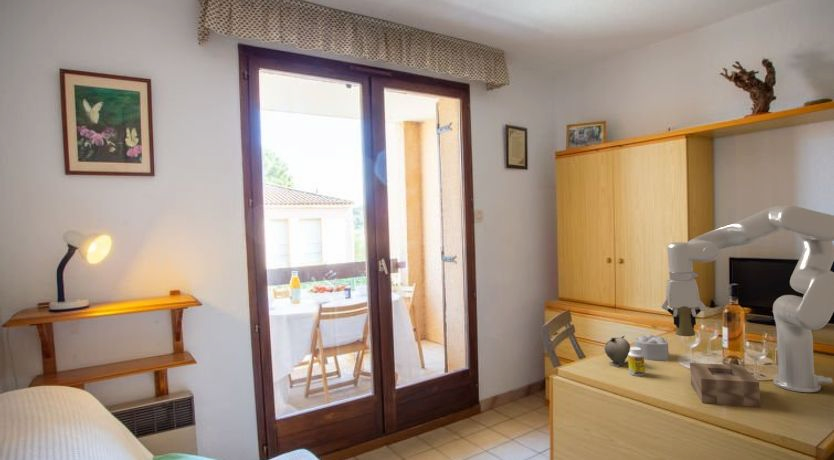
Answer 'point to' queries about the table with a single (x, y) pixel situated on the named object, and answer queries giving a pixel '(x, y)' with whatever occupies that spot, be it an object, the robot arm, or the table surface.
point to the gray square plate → (721, 374)
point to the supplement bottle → (636, 361)
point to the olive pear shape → (684, 322)
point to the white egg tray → (653, 347)
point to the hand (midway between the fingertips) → (684, 326)
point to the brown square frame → (725, 384)
